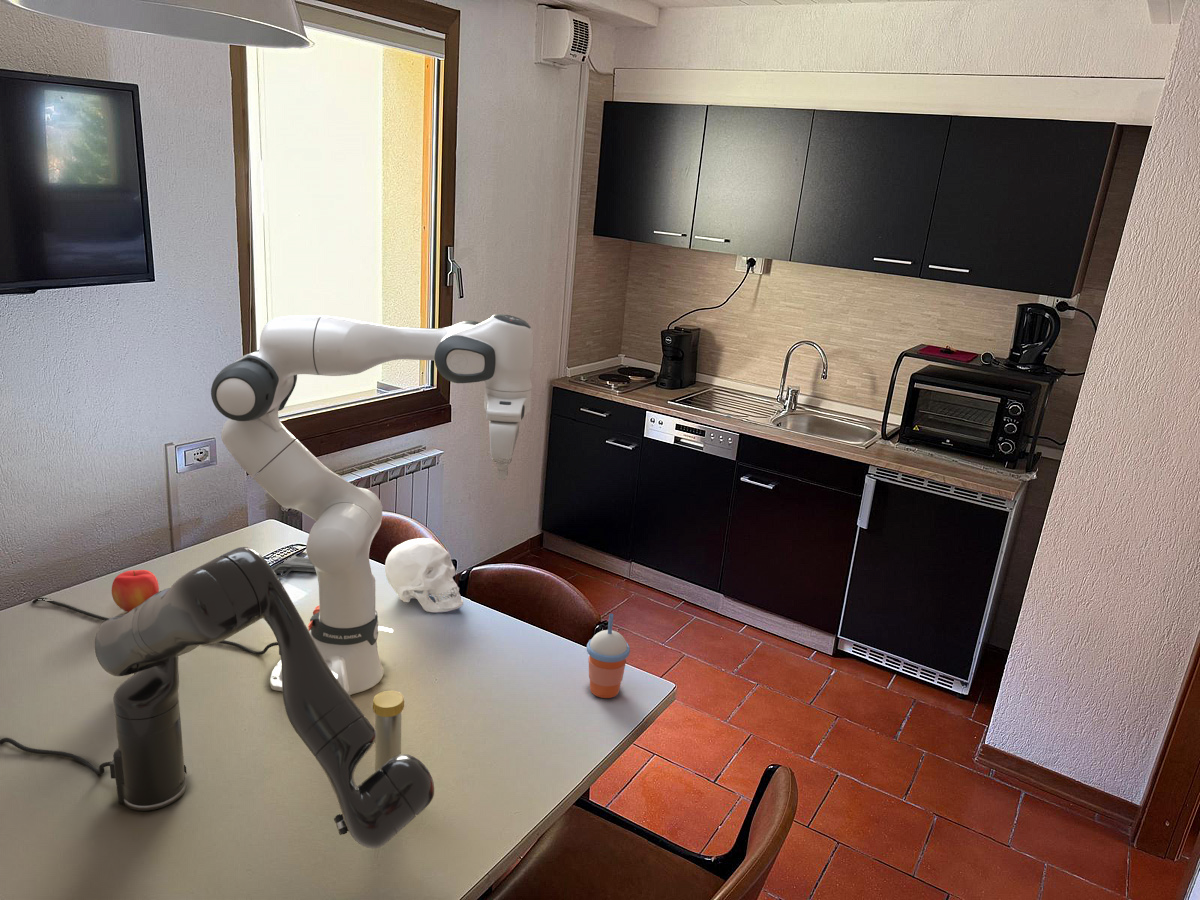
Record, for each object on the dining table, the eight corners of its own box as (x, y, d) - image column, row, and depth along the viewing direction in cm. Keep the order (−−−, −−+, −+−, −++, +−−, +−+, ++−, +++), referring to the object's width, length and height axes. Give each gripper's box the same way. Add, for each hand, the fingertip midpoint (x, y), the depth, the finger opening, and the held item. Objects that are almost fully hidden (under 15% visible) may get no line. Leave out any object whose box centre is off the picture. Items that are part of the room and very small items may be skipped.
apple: (163, 615, 196) (160, 576, 193) (116, 624, 191) (112, 584, 188) (157, 598, 204) (154, 559, 201) (111, 606, 199) (107, 567, 196)
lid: (369, 716, 137) (369, 707, 137) (376, 698, 142) (376, 689, 141) (401, 718, 138) (401, 708, 137) (406, 700, 142) (406, 690, 142)
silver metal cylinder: (372, 808, 143) (372, 708, 137) (378, 791, 147) (378, 693, 141) (398, 809, 143) (399, 709, 138) (402, 792, 147) (403, 694, 142)
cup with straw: (621, 706, 176) (629, 628, 171) (578, 698, 178) (585, 621, 173) (629, 682, 185) (636, 608, 180) (588, 675, 186) (594, 601, 181)
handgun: (292, 594, 211) (247, 586, 213) (325, 565, 228) (283, 558, 229) (291, 586, 211) (246, 578, 212) (325, 557, 227) (283, 550, 229)
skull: (448, 622, 203) (451, 561, 199) (372, 599, 211) (374, 540, 207) (477, 602, 215) (480, 543, 211) (405, 581, 223) (406, 524, 219)
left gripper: (424, 748, 117) (418, 755, 132) (323, 800, 112) (328, 801, 126) (447, 801, 116) (438, 802, 130) (344, 856, 110) (347, 851, 125)
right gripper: (496, 387, 172) (494, 452, 176) (485, 413, 153) (482, 486, 157) (528, 390, 172) (524, 455, 176) (520, 416, 153) (516, 488, 157)
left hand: (384, 801), depth 128 cm, fingers open, 8 cm apart
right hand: (504, 470), depth 166 cm, fingers open, 8 cm apart
